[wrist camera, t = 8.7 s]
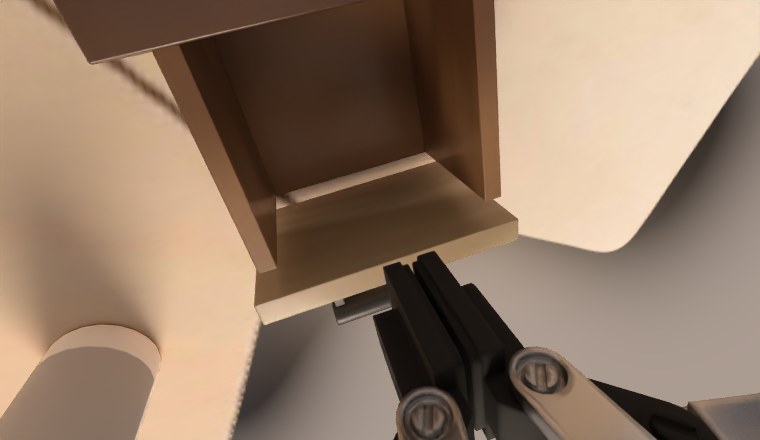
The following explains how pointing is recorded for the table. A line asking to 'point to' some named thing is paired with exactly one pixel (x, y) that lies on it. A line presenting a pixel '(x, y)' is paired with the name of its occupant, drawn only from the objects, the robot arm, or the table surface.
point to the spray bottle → (86, 388)
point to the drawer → (349, 143)
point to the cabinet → (170, 21)
